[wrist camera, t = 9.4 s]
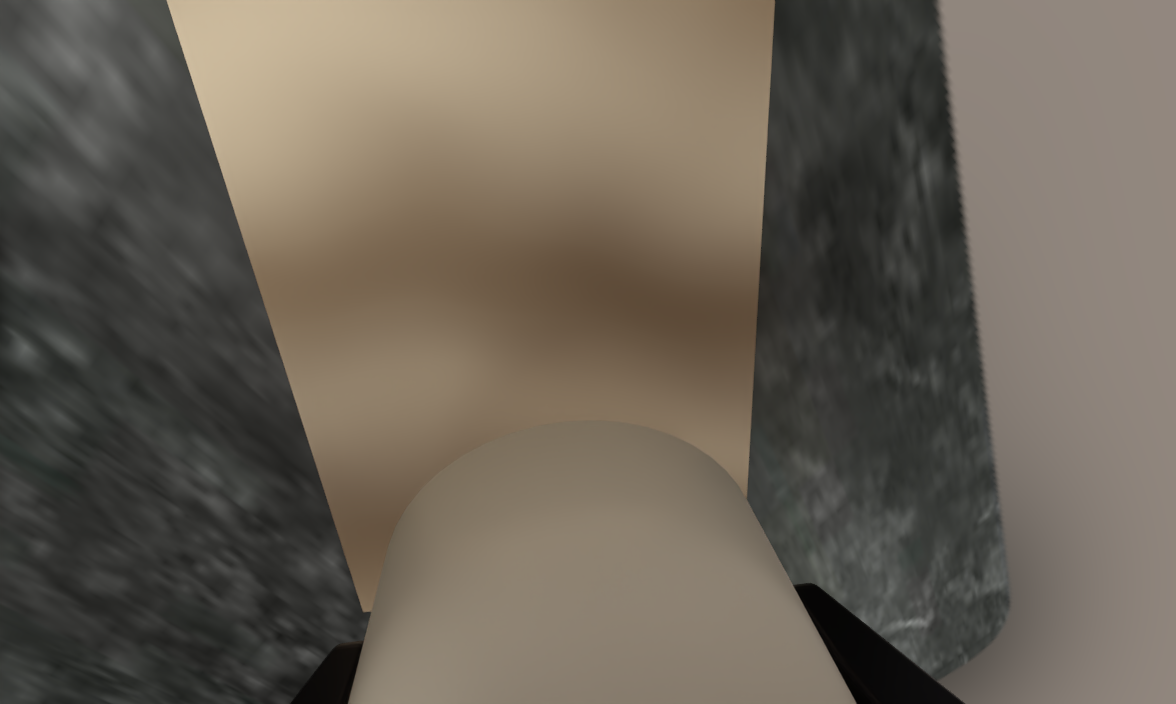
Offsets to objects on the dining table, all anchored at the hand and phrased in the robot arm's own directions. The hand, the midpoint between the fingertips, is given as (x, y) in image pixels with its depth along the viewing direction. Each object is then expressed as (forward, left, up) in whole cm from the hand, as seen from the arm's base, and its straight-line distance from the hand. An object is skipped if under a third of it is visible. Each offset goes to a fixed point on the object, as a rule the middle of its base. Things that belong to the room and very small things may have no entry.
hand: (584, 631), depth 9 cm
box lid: (+3, 0, -6) cm, 7 cm away
